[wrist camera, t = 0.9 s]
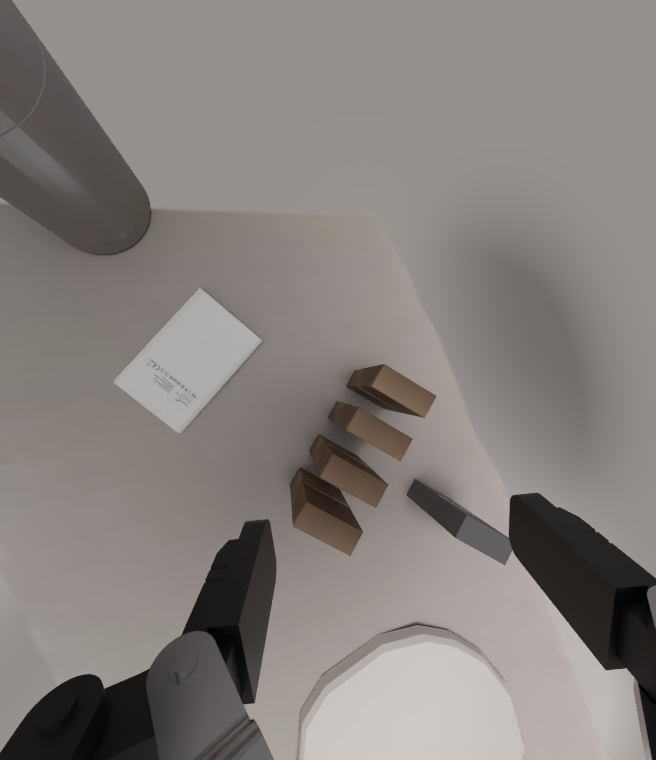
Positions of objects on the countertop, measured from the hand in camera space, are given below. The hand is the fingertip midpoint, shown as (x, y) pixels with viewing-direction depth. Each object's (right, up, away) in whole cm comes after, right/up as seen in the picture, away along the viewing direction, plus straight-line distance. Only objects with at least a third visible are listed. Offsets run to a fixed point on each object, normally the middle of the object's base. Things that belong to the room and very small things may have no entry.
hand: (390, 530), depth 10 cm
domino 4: (-3, -7, +23) cm, 24 cm away
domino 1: (+3, +4, +24) cm, 25 cm away
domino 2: (+1, 0, +24) cm, 24 cm away
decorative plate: (+7, -35, +25) cm, 43 cm away
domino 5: (+9, -8, +25) cm, 28 cm away
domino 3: (-1, -3, +23) cm, 24 cm away
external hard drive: (-16, +7, +22) cm, 28 cm away
